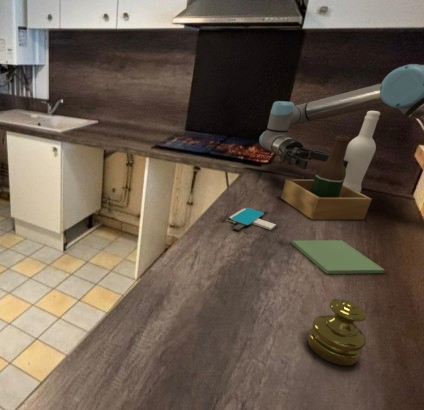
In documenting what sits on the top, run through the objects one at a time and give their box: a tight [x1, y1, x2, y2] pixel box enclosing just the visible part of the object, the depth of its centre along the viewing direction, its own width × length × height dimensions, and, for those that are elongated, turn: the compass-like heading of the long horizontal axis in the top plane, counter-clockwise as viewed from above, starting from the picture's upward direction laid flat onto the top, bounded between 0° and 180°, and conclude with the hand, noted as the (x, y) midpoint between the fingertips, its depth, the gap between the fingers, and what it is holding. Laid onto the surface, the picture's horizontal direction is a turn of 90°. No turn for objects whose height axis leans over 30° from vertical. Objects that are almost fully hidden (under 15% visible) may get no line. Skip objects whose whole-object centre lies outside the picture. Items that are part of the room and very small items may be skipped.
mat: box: [291, 239, 385, 275], centre depth 90 cm, size 14×14×1 cm
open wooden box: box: [280, 178, 373, 220], centre depth 117 cm, size 17×17×7 cm
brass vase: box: [307, 298, 368, 366], centre depth 60 cm, size 7×7×10 cm
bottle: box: [343, 110, 381, 193], centre depth 123 cm, size 8×8×30 cm
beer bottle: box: [311, 135, 351, 198], centre depth 113 cm, size 8×8×24 cm
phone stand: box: [224, 206, 277, 232], centre depth 107 cm, size 20×12×2 cm, turn 134°
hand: (326, 165), depth 116 cm, fingers open, 13 cm apart
